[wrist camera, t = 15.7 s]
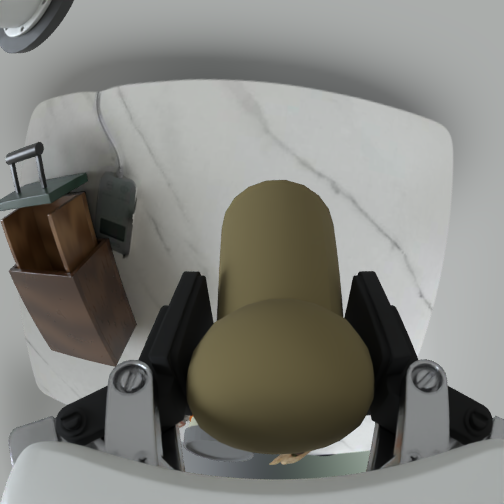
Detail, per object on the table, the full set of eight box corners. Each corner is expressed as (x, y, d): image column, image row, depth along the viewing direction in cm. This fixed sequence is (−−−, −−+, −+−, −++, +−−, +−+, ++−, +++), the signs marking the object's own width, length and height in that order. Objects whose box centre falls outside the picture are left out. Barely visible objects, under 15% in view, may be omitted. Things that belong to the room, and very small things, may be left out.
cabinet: (43, 239, 37) (8, 270, 29) (108, 238, 36) (72, 276, 28) (74, 315, 46) (51, 350, 37) (136, 324, 44) (116, 366, 36)
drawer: (19, 149, 28) (-17, 164, 22) (80, 129, 27) (38, 142, 21) (52, 270, 39) (27, 297, 32) (112, 274, 38) (87, 307, 31)
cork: (257, 294, 17) (242, 474, 8) (200, 214, 15) (108, 402, 5) (349, 253, 15) (411, 439, 6) (302, 158, 13) (376, 333, 4)
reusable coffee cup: (208, 399, 55) (196, 459, 42) (188, 367, 49) (169, 435, 36) (264, 399, 53) (260, 463, 40) (254, 365, 47) (247, 441, 34)
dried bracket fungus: (324, 419, 70) (336, 439, 64) (288, 442, 72) (299, 461, 66) (292, 422, 58) (305, 447, 52) (251, 446, 61) (262, 470, 55)
